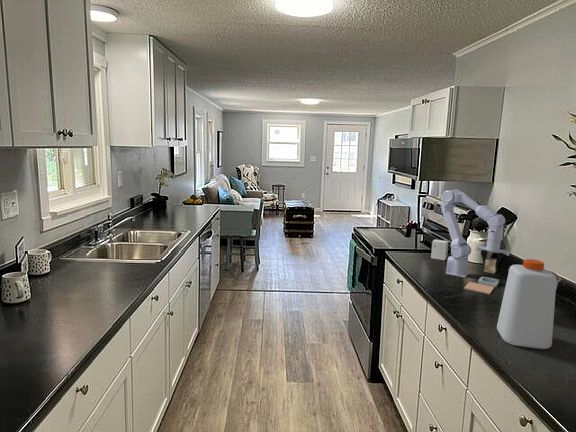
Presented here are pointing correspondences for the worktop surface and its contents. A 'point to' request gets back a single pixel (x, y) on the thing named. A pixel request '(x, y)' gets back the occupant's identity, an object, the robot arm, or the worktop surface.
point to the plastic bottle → (528, 306)
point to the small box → (439, 249)
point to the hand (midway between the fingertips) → (490, 267)
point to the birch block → (490, 265)
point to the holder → (488, 282)
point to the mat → (479, 288)
